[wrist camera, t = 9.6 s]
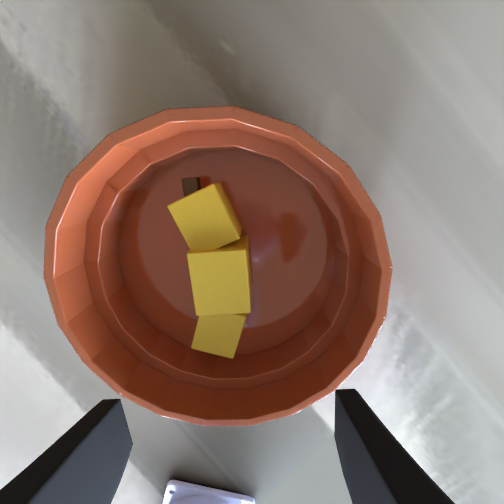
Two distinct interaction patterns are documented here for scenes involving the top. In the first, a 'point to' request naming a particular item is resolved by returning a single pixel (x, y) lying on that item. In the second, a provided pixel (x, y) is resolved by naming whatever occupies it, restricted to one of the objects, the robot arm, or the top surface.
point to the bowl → (178, 277)
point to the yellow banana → (215, 265)
